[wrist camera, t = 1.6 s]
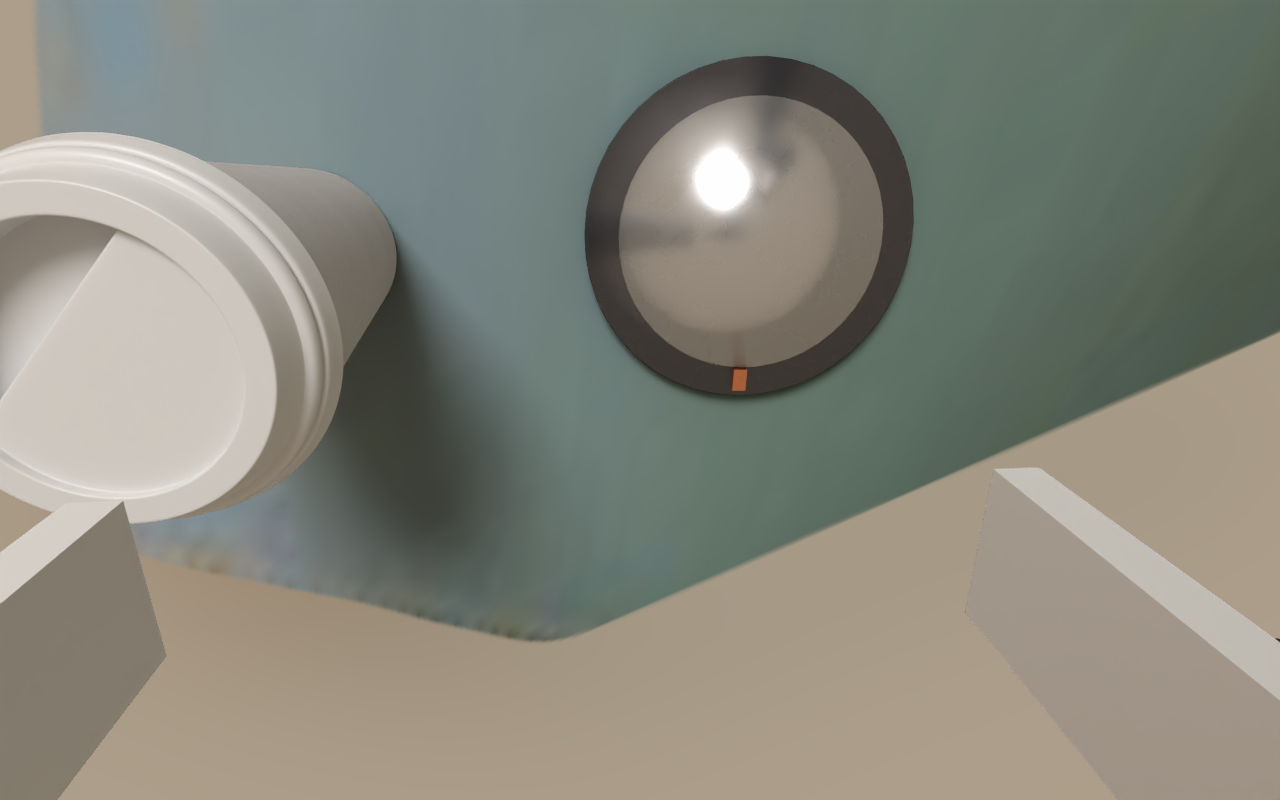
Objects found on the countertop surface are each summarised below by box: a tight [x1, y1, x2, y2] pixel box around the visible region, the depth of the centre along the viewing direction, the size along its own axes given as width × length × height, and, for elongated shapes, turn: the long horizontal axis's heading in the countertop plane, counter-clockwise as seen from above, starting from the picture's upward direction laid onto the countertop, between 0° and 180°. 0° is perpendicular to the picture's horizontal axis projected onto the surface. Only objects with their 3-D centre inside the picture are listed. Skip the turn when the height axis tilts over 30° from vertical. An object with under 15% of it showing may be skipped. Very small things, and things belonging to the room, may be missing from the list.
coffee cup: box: [0, 132, 397, 524], centre depth 23 cm, size 10×10×15 cm
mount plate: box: [585, 56, 914, 395], centre depth 31 cm, size 14×14×1 cm
